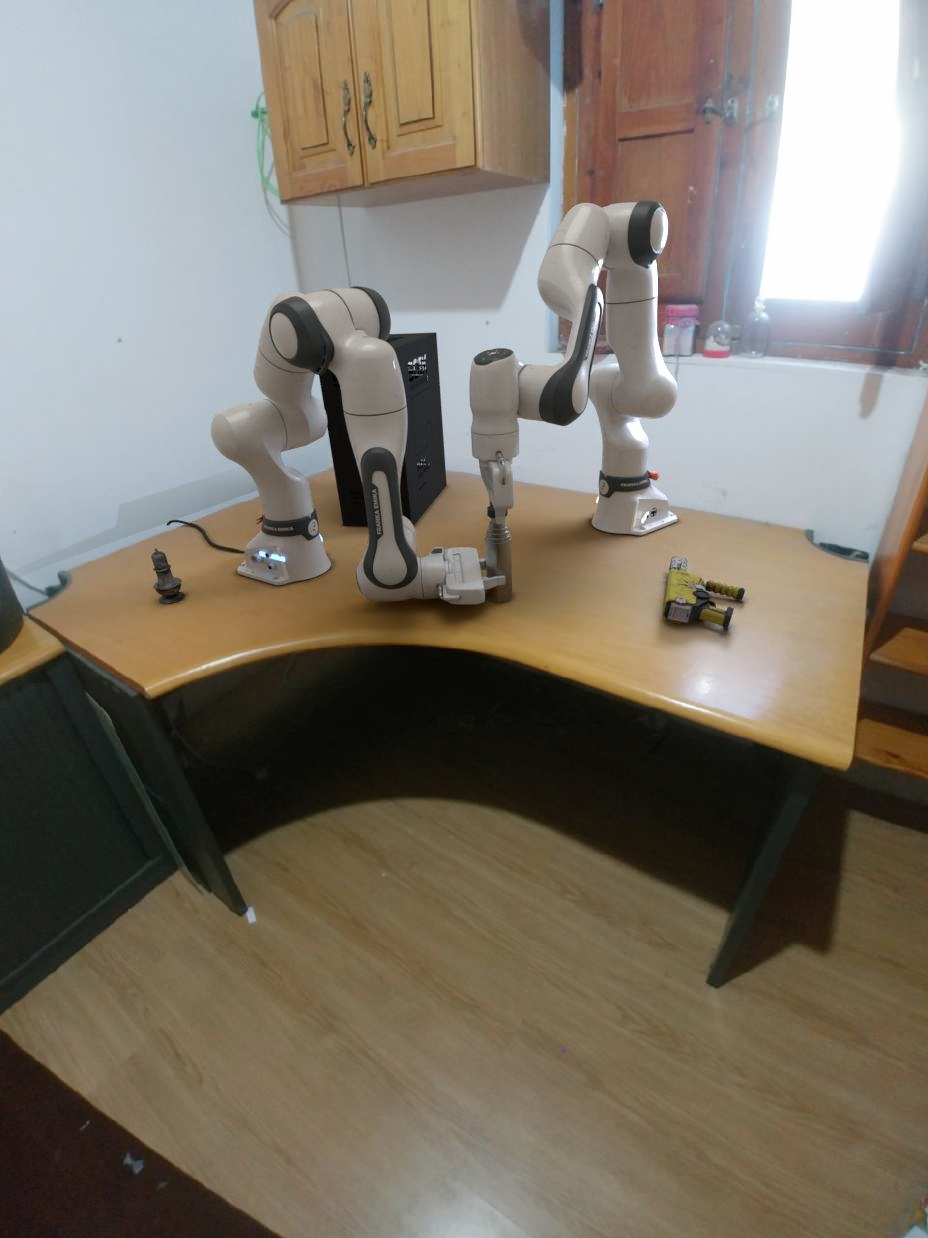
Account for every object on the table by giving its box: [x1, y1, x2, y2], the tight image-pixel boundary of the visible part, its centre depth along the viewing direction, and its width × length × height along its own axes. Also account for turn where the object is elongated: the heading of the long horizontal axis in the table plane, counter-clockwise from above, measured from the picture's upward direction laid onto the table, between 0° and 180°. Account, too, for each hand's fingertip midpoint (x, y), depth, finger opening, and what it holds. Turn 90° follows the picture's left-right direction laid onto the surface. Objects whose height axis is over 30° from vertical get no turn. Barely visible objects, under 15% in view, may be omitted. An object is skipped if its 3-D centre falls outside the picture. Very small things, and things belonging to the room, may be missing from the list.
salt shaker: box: [150, 547, 185, 604], centre depth 132 cm, size 6×6×12 cm
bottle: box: [484, 518, 513, 603], centre depth 123 cm, size 5×5×19 cm
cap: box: [486, 505, 509, 519], centre depth 118 cm, size 4×4×2 cm
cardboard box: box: [318, 332, 448, 527], centre depth 171 cm, size 38×20×45 cm, turn 167°
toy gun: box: [662, 556, 746, 632], centre depth 120 cm, size 5×24×15 cm
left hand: (503, 572), depth 125 cm, fingers closed on bottle, 5 cm apart
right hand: (497, 516), depth 119 cm, fingers open, 6 cm apart
